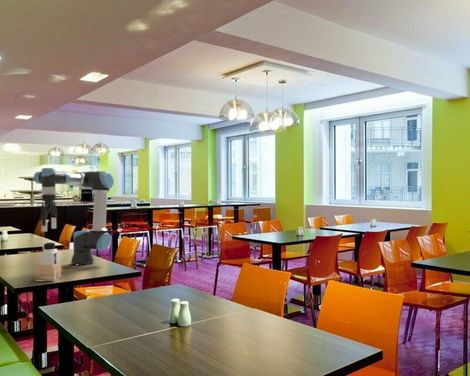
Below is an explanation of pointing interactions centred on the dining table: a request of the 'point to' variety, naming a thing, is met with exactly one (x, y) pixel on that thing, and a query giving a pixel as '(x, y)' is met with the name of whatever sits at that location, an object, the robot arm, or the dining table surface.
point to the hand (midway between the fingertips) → (49, 229)
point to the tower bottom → (48, 276)
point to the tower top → (47, 269)
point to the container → (48, 255)
